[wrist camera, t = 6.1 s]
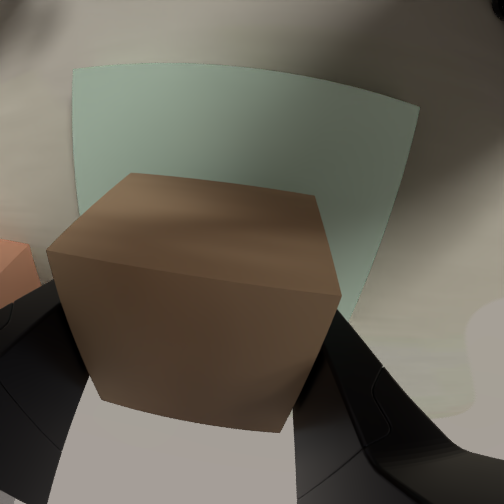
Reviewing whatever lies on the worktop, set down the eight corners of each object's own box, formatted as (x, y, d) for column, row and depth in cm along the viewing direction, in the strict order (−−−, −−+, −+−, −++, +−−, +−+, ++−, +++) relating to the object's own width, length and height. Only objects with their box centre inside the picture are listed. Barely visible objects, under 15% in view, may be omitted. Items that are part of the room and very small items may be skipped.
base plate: (402, 101, 9) (420, 106, 8) (328, 332, 15) (332, 355, 14) (95, 67, 9) (73, 69, 7) (112, 299, 15) (101, 319, 13)
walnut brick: (314, 195, 8) (342, 296, 5) (281, 329, 11) (279, 432, 7) (131, 172, 8) (46, 250, 5) (141, 307, 11) (101, 399, 7)
